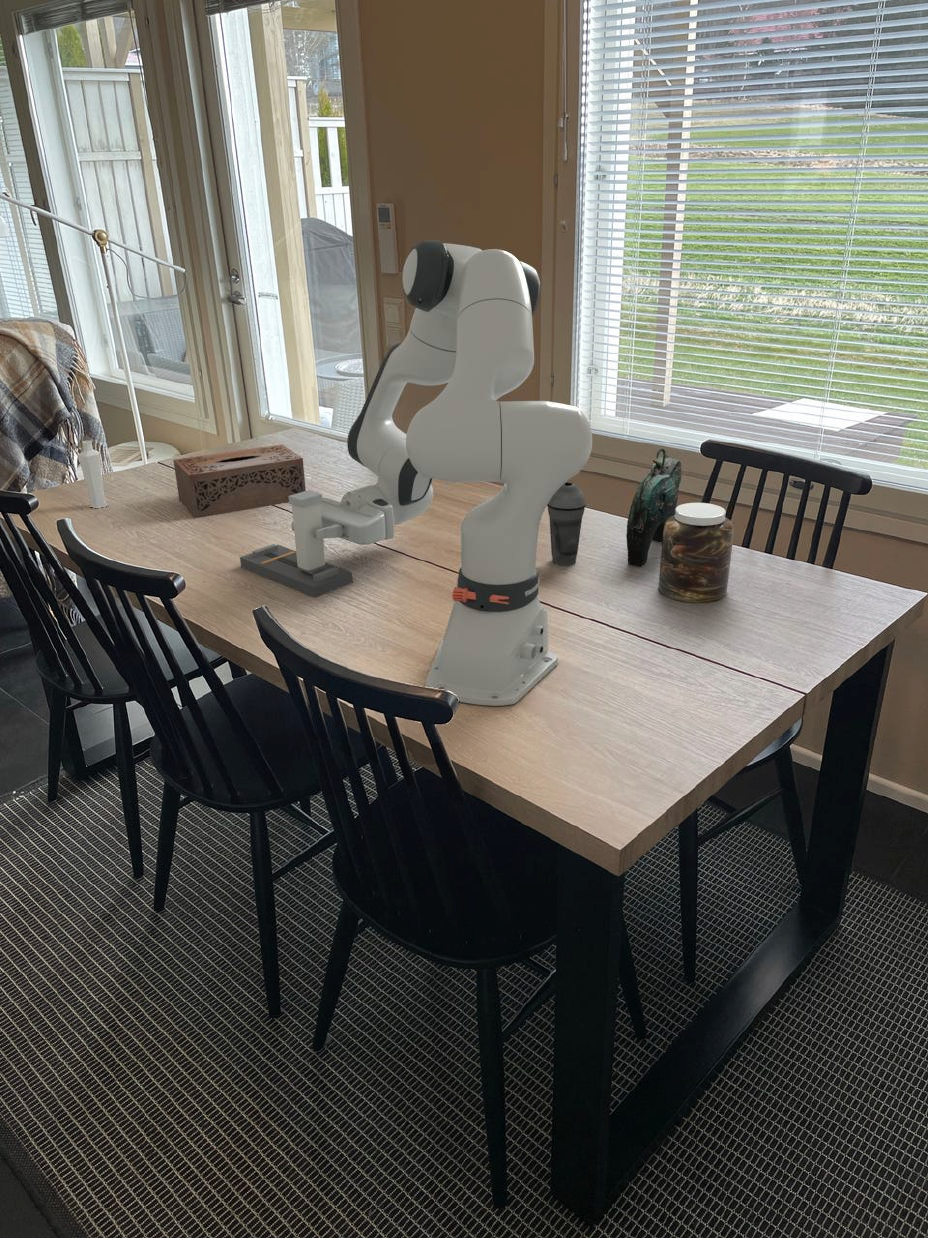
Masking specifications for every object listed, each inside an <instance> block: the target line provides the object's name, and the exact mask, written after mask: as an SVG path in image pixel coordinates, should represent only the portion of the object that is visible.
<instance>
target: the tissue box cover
mask: <svg viewBox="0 0 928 1238" xmlns="http://www.w3.org/2000/svg"><path fill="white" fill-rule="evenodd" d="M172 461H173V467H174V472H175V474H174V475H175V480H176V486H177V487H176V488H177V494H178V501H179V502H180V503H181V502H182V503H181V504H182V505H183V507H184V508H185V507H186V508H187V509H186V508H185V509H186V510H187V511H188V512H189V514H191V516H193V518H194V519H200V518H205V517H212V516H217V515H223V514H228V513H234V512H242V511H248V510H253V509H258V508H265V507H270V505H271V506H276V504H277V505H281V504H282V503H283V504H289V503H288V502H289V496H291V495H294V494H297V493H301V492H304V491H307V490H306V480H305V470H304V469H305V468H304V458H303V457H302V456H300V455H298V454H297V453H295V452H294V451H292V450H291V449H290V448H288V447H287V446H285V445H284V444H275V445H269V446H262V447H256V448H255V447H254V448H248V449H240V450H232V451H226V452H218V453H212V454H204V455H199V456H191V457H183V458H175V459H173V460H172Z"/></svg>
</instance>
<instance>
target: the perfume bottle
mask: <svg viewBox="0 0 928 1238" xmlns="http://www.w3.org/2000/svg"><path fill="white" fill-rule="evenodd" d="M92 442H93V441H92V440H90V439H89V440H84V441H81V443H82V448H83V451H81V452H80V453H79V454H77V457H78V460H79V464H80V468H81V471H82V475H83V478H84V482H85V487H86V489H87V493H88V496H89V500H90V501H89V508H90V507H93V508H92V509H94V508H99V509H102V508H101V507H104V508H107V507H108V504H107V501H106V498H105V493H104V483H103V476H102V468H101V460H100V452H99V451H98V450H96V449H93V444H92ZM106 506H107V507H106Z"/></svg>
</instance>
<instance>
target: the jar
mask: <svg viewBox="0 0 928 1238" xmlns="http://www.w3.org/2000/svg"><path fill="white" fill-rule="evenodd" d="M726 513H727V512H726V509H725V508H724V507H722V506H720V505H717V504H712V503H708V502H707V503H706V502H687V503H682V504H679V505H677V507H676V509H675V515H672V516H670V517H669V518H667V520H666V521H665V525H664V532H663V540H662V543H661V552H660V553H661V554H660V562H659V563H660V564H659V578H658V591H659V592H660V593H661V594H662V595H663V596H665V597H667V598H669V599H672V600H675V601H679V602H685V603H691V604H692V603H694V604H695V603H696V604H699V603H701V604H702V603H703V604H704V603H711V602H714V601H715V602H716V601H719V600H722V598H724V597H725V596H726V595H727V592H728V585H729V577H730V576H729V575H730V569H731V560H732V553H733V552H732V551H733V544H734V543H733V541H734V530H735V529H734V524H733V522H732V521H731V519H728V517H726Z"/></svg>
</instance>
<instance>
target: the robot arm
mask: <svg viewBox="0 0 928 1238" xmlns="http://www.w3.org/2000/svg"><path fill="white" fill-rule="evenodd" d="M540 280H541V279H540V277H539V274H538V272H537V270H536V269H535V268H534V267H533V266H531V265H529V264H528V263H525V262H523V261H521V260H520V259H519V260H518V258H516V257H515V255H514V254H512V253H510V252H508V251H506V250H503V249H499V248H498V249H497V248H492V249H491V248H489V249H484V250H482V249H481V248H478V247H474V246H468V245H462V244H456V243H445V242H444V243H443V242H442V241H441V240H439V239H438V240H435V239H427V240H426V239H425V240H420V241H418V243H416V244H415V245H414V246H413V247H411V249H410V252H409V254H408V256H407V257H406V260H405V263H404V266H403V269H402V287H403V295H404V296H405V299H406V300H407V302H408V304H410V305H411V306H412V307H414V308H415V309H414V312H413V315H412V319H411V321H410V324H409V330H408V331H407V335H406V336H405V338H404V340H403V341H402V342H398V343H396V344H395V345H393V346H392V347H391V348H390V349H389V351H388V352H387V353H386V355H385V356H384V358H383V360H382V363H381V364H380V367H379V368H378V370H377V373H376V376H375V378H374V381H373V383H372V385H371V387H370V389H369V392H368V395H367V396H366V399H365V402H364V404H363V406H362V409H361V411H360V412H359V414H358V416H357V418H356V419H355V421H354V422H353V424H352V425H351V427H350V429H349V431H348V434H347V439H346V440H347V444H346V445H347V451H348V455H349V456H350V457H351V459H352V460H354V461H356V462H357V463H359V464H360V465H362V466H363V467H365V468H366V469H368V470H369V471H370V472H372V473H373V474H374V475H375V476H376V477H378V478H377V479H378V480H377V482H376V483H375V484H372V485H367V486H362V487H360V488H356V489H353V490H350V491H347V492H346V493H344V495H343V496H342V498H341V500H340V501H337V500H334V499H331V498H328V497H322V500H323V502H320V505H321V518H322V527H319V528H316V529H314V530H313V538H315V539H318V540H322V539H323V540H324V539H337V538H340V539H342V540H345V541H348V542H351V543H354V544H356V545H359V546H360V545H362V546H364V545H365V546H366V545H371V544H375V543H378V542H381V541H383V540H386V541H387V540H390V539H393V538H394V537H395V526H397V525H400V524H403V523H405V522H408V521H410V520H412V519H414V518H416V517H418V516H420V515H421V514H423V513H424V512H426V511H427V510H428V509H429V508H430V506H431V505H432V502H433V499H434V488H433V485H432V481H433V480H436V481H437V480H438V481H445V482H449V483H450V482H451V483H481V482H482V483H485V482H490V483H491V482H499V483H504V484H503V486H502V487H501V490H500V491H498V492H497V494H496V495H494V496H493V497H492V498H490V499H487V500H486V501H484V502H482V503H480V504H478V505H476V506H474V507H473V508H472V509H471V510H469V512H468V513H467V514H466V515H465V516H464V518H463V520H462V523H461V526H460V548H461V549H460V561H461V562H460V568H459V570H458V576H457V579H456V587H454V588H453V590H452V596H451V597H452V600H453V605H452V609H451V611H450V615H449V618H448V622H447V626H446V628H445V631H444V632H445V633H444V636H443V639H441V640H440V644H439V645H438V648H437V651H436V653H435V656H434V659H433V661H432V663H431V666H430V669H429V671H428V674H427V677H426V679H425V683H424V687H425V686H427V687H433V688H438V689H444V690H449V691H451V692H453V693H454V694H456V695H457V697H458V698H459V700H460V702H459V703H464V704H465V703H466V704H469V705H470V704H472V705H477V706H478V705H480V706H494V707H495V706H496V707H497V706H508V705H509V706H510V705H514V704H516V703H518V702H519V701H520V700H521V699H522V698H523V697H524V696H525V695H527V694H528V692H529V691H531V690H532V689H533V688H534V687H535V686H536V685H537V684H539V682H540V681H541V680H543V678H544V677H546V675H548V674H549V672H551V671H552V670H553V669H554V668H555V667H556V666H557V665H558V664H559V659H558V655H557V654H555V653H554V652H552V651H550V650H549V628H548V627H549V624H548V623H549V622H548V611H547V610H546V608H545V607H544V606H543V605H542V603H541V602H540V600H539V598H538V595H539V586H540V577H539V569H538V568H537V552H538V551H537V548H538V538H539V530H540V525H541V520H542V517H543V514H544V512H545V510H546V508H547V507H548V506H547V504H548V502H549V501H550V499H551V498H552V496H553V495H554V494H555V493H556V491H557V490H558V489H559V488H560V487H561V486H562V485H563V484H564V483H565V482H567V481H569V480H570V479H572V478H573V477H575V476H577V475H578V474H579V473H580V472H581V470H582V469H584V467H585V466H586V464H587V463H588V461H589V458H590V456H591V452H592V448H593V432H592V428H591V425H590V422H589V420H588V418H587V417H586V414H584V413H583V411H582V410H581V409H580V408H579V407H578V406H575V405H572V404H571V405H570V404H566V403H562V402H555V401H550V400H549V401H548V400H519V401H514V400H513V401H511V400H510V401H508V400H507V401H506V400H505V401H499V400H498V399H500V398H501V397H503V396H504V395H507V394H509V393H511V392H512V391H514V390H516V389H517V388H519V387H520V386H521V385H522V384H523V383H524V382H525V381H526V380H527V379H528V377H529V376H530V375H531V373H532V370H533V368H534V365H535V348H534V347H535V346H534V329H533V317H534V316H535V314H536V311H537V309H538V306H539V302H540V296H541V281H540ZM408 383H410V384H415V385H419V386H440V385H441V386H442V385H444V384H446V386H445V387H444V388H443V390H442V391H441V392H440V393H439V394H438V395H437V396H436V397H435V398H434V399H433V400H432V401H431V402H429V403H428V404H426V405H425V406H422V407H421V408H420V409H419V410H418V411H417V412H416V414H414V416H413V418H411V421H410V422H409V425H408V428H407V432H406V433H405V432H404V431H402V430H401V429H400V428H398V427H397V426H396V424H395V422H394V419H393V413H394V411H395V409H396V406H397V404H398V401H399V399H400V397H401V395H402V393H403V391H404V389H405V386H406V385H407V384H408ZM291 513H292V515H293V512H292V511H291ZM290 525H291V530H292V531H293V532H294V523H293V521H292V522H291V524H290Z"/></svg>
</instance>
